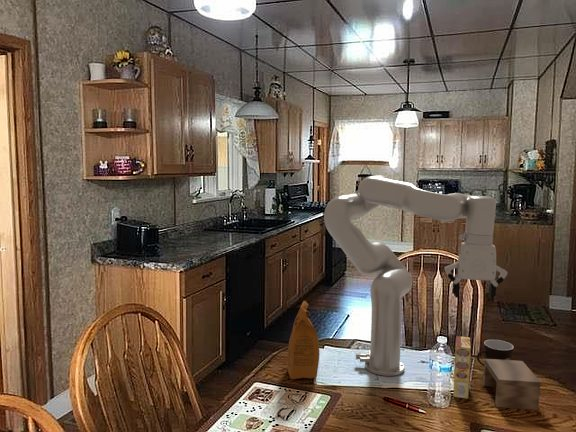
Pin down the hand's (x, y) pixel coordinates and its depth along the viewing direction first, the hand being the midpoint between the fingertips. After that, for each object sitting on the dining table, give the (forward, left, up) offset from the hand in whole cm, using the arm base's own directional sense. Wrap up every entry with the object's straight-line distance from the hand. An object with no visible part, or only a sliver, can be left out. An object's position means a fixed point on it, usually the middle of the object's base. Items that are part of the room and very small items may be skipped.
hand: (473, 297), depth 146 cm
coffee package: (-49, +5, -28) cm, 57 cm away
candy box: (-2, -1, -28) cm, 29 cm away
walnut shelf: (+11, -2, -28) cm, 30 cm away
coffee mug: (+10, +12, -28) cm, 32 cm away
